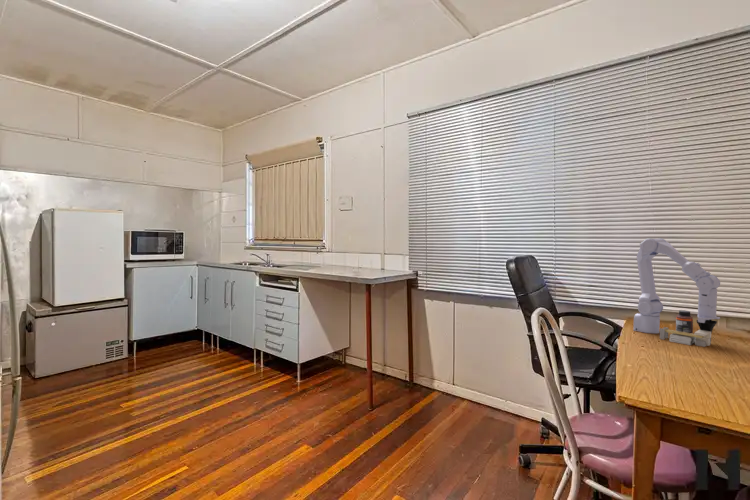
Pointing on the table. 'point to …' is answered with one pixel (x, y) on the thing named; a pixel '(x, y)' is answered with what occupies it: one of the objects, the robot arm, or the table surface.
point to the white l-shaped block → (706, 336)
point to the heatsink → (682, 339)
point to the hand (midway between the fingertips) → (706, 337)
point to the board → (665, 335)
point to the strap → (683, 333)
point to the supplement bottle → (684, 322)
